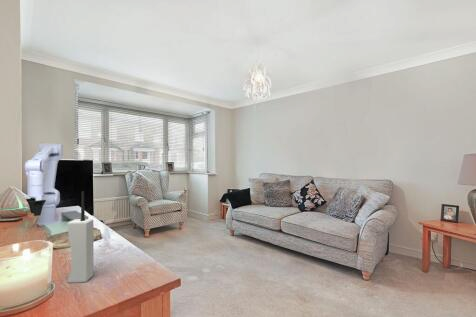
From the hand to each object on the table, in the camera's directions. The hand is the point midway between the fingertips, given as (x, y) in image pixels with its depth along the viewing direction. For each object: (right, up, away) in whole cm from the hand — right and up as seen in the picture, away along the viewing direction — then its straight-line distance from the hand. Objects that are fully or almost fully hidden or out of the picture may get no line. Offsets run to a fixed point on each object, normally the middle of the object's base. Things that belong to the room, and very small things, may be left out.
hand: (35, 214), depth 109 cm
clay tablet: (+27, -9, -13) cm, 31 cm away
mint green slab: (+10, -9, +4) cm, 14 cm away
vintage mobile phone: (+50, -8, -43) cm, 67 cm away
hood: (+13, -8, +7) cm, 17 cm away
